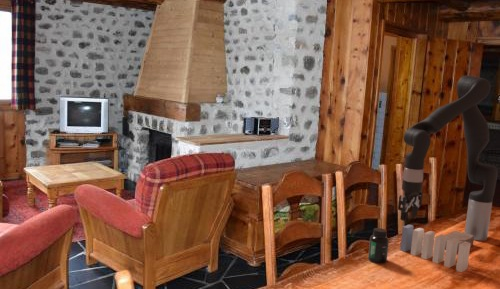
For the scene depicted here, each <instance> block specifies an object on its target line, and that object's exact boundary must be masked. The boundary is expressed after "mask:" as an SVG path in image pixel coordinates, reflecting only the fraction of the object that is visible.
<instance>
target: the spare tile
mask: <svg viewBox="0 0 500 289" xmlns="http://www.w3.org/2000/svg"><path fill="white" fill-rule="evenodd" d="M414 227H415V226H414V225H412V224H407V225H404V226H402V228H401V229H402V230H401V238H400V239H401V241H400V249H399V251H400V252H404V253H406V252H408V251H411V245H412V236H413V230H414Z"/></svg>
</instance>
